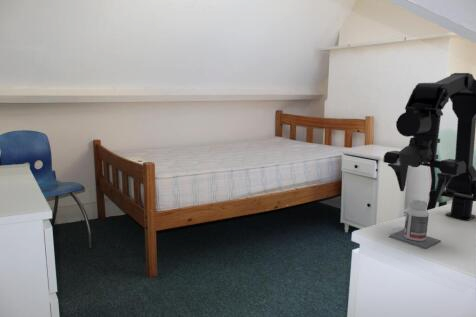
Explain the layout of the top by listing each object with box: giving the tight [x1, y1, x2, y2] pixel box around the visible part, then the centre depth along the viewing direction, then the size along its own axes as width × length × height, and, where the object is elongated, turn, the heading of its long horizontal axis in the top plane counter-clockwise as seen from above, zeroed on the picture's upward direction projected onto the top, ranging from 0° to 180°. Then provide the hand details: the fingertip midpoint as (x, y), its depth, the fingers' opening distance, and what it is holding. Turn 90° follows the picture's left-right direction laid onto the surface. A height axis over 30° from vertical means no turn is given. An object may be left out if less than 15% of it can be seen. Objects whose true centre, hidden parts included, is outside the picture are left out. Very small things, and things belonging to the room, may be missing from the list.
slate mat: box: [388, 229, 442, 250], centre depth 108 cm, size 8×10×1 cm
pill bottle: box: [403, 199, 430, 241], centre depth 107 cm, size 5×5×10 cm
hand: (419, 195), depth 106 cm, fingers open, 9 cm apart
